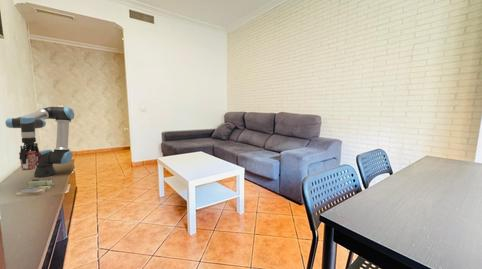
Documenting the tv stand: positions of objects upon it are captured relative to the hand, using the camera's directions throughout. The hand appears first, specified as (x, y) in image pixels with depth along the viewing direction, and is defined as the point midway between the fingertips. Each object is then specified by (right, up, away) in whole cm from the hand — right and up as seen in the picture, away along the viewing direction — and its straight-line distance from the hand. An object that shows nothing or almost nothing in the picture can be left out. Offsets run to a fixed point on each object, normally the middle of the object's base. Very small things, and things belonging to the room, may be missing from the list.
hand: (30, 166), depth 163 cm
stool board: (+1, -20, +3) cm, 20 cm away
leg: (0, -16, +8) cm, 18 cm away
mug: (0, -2, +1) cm, 2 cm away
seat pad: (+1, -18, -1) cm, 18 cm away
